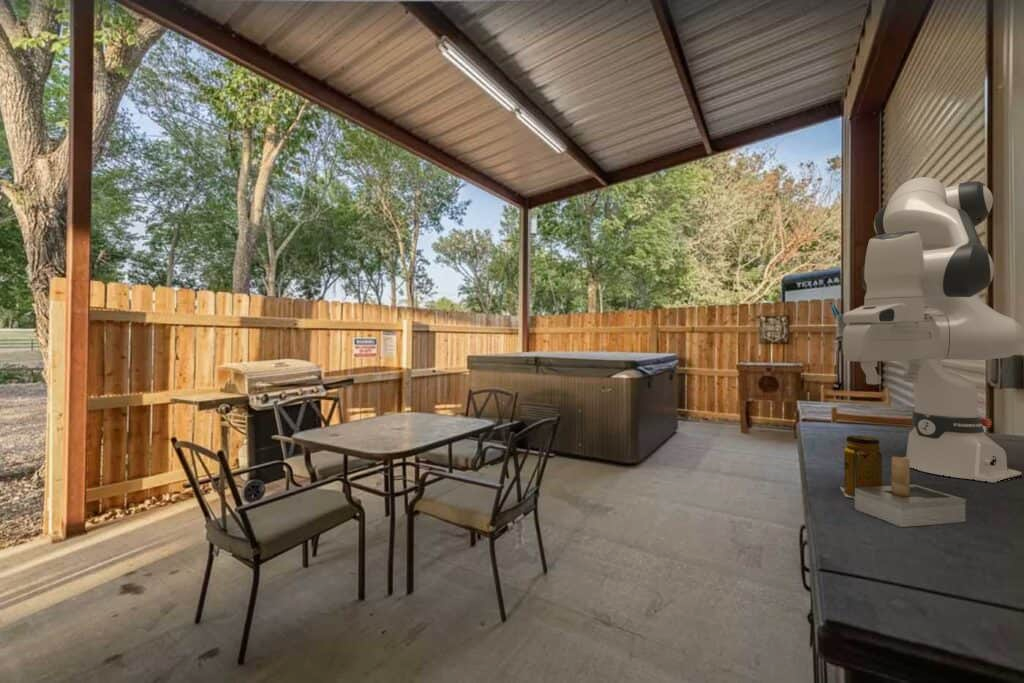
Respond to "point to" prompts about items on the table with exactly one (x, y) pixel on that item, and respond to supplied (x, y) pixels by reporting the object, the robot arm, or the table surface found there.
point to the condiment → (861, 464)
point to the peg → (900, 477)
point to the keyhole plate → (911, 514)
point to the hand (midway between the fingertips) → (892, 383)
